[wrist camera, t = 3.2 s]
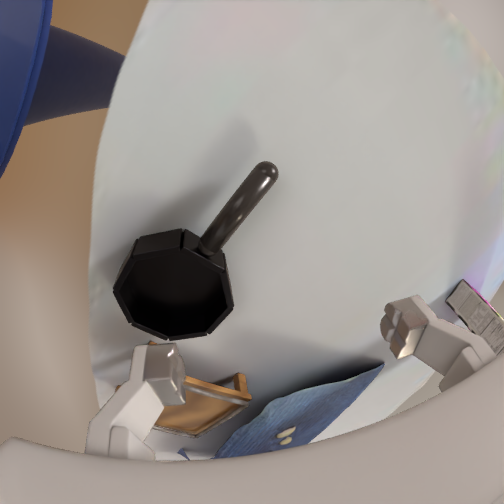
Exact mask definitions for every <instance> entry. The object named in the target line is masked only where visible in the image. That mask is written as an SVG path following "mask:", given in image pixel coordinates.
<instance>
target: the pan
mask: <svg viewBox="0 0 504 504" xmlns="http://www.w3.org/2000/svg"><path fill="white" fill-rule="evenodd" d="M277 178H278V169H277V167H276V166H275V165H274V164H273V163H271V162H268V161H264V162H261V163H259V164H257V165H256V166H255V168H254V169H253V170H252V171H251V173H250V174H249V175H248V176H247V178H246V179H245V180H244V182H243V183H242V184H241V185H240V187H239V188H238V189H237V190H236V192H235V193H234V194H233V196H232V197H231V198H230V199H229V201H228V202H227V203H226V205H225V206H224V207H223V209H222V210H221V211H220V212H219V214H218V215H217V216H216V218H215V219H214V220H213V222H212V223H211V224H210V226H209V227H208V228H207V230H206V231H205V232H204V234H203V235H202V236H201V238H200V237H198V236H197V235H195V234H193V233H192V232H190V231H188V230H186V229H185V230H184V232H183V231H182V229H176V230H171V231H166V232H161V233H156V234H151V235H146V236H141V237H140V238H139V240H138V239H136V241H135V243H134V244H133V246H132V248H131V250H130V252H129V253H128V255H127V257H126V259H125V261H124V263H123V264H122V266H121V268H120V271H119V273H118V276H117V278H116V281H115V284H114V286H113V289H114V290H113V293H114V296H115V298H116V300H117V302H118V304H119V306H120V307H121V309H122V311H123V313H124V315H125V317H126V319H127V321H128V323H132V324H131V325H132V326H134V327H136V328H138V329H140V330H143V331H145V332H147V333H149V334H152V335H154V336H156V337H159V338H161V339H163V340H167V339H169V341H174V340H181V339H188V338H195V337H202V336H207V333H208V334H211V333H212V332H213V331H214V330H215V329H216V328H217V326H218V325H219V324H220V323H221V322H222V321H223V320H224V319H225V318H226V317H227V316H228V315H229V314H230V313H231V312H232V310H233V307H234V302H233V296H232V289H231V284H230V279H229V274H228V269H227V264H226V259H225V254H224V253H222V250H221V248H222V247H223V246H224V245H225V243H226V242H227V241H228V240H229V238H230V237H231V236H232V235H233V233H234V232H235V231H236V230H237V228H238V227H239V226H240V225H241V223H242V222H243V221H244V220H245V218H246V217H247V216H248V215H249V214H250V212H251V211H252V210H253V209H254V207H255V206H256V205H257V204H258V202H259V201H260V200H261V199H262V198H263V196H264V195H265V194H266V193H267V191H268V190H269V189H270V188H271V187H272V185H273V184H274V183H275V182H276V180H277Z"/></svg>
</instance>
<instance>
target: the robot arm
mask: <svg viewBox="0 0 504 504" xmlns="http://www.w3.org/2000/svg"><path fill="white" fill-rule="evenodd" d="M384 311H385V313H386V314H385V316H384V317H383V318H382V320H381V323H380V329H381V333H382V336H383V338H384V339H385V340H386V341H388V342H390V349H391V351H392V352H393V354H394V356H395V357H396V359H400V358H403V357H406V356H408V355H411V354H413V355H414V356H415V357H417V358H418V359H420V360H421V361H423V362H424V363H426V364H427V365H429V366H430V367H432V368H433V369H434V370H436V371H437V372H439V373H440V374H442V375H443V376H444V378H443V379H442V381H441V382H440V384H439V388H440V390H441V392H442V393H440V394H438V395H436V396H434V397H432V398H430V399H428V400H427V401H424V402H422V403H420V404H418V405H416V406H414V407H412V408H410V409H407V410H405V411H403V412H401V413H399V414H396V415H394V416H391V417H389V418H386V419H384V420H381V421H379V422H376V423H374V424H371V425H368V426H365V427H363V428H360V429H357V430H354V431H351V432H348V433H345V434H342V435H338V436H335V437H332V438H328V439H325V440H321V441H317V442H314V443H310V444H306V445H301V446H297V447H292V448H288V449H283V450H278V451H272V452H267V453H261V454H254V455H247V456H240V457H231V458H221V459H208V460H188V461H155V452H154V451H153V450H152V449H150V448H149V447H148V446H147V445H146V444H144V443H143V442H144V440H145V438H146V437H147V435H148V434H149V432H150V430H151V429H152V427H153V425H154V424H155V422H156V421H157V419H158V417H159V416H160V414H161V412H162V411H163V409H164V406H176V405H186V389H185V387H184V385H183V383H184V381H185V380H186V373H185V366H184V362H183V359H182V357H181V356H180V355H178V347H177V345H176V343H167V344H151V345H136V347H135V348H134V352H133V357H132V363H131V369H130V375H129V381H126V382H124V383H123V384H122V386H121V387H120V388H119V389H118V390H117V391H116V392H115V394H114V395H113V396H112V397H111V398H110V399H109V400H108V402H107V403H106V404H105V405H104V406H103V407H102V408H101V410H100V411H99V412H98V413H97V414H96V416H95V417H94V418H93V419H92V420H91V421H90V422H89V427H88V433H87V439H86V447H85V454H83V453H78V452H72V451H67V450H63V449H58V448H54V447H49V446H46V445H42V444H38V443H34V442H31V441H28V440H24V439H22V438H18V437H10V438H8V439H7V440H5V441H4V442H3V443H2V444H1V445H0V504H504V353H503V354H501V355H500V356H499V357H497V356H496V355H495V353H494V352H493V351H492V349H491V348H490V347H489V345H488V344H487V343H486V342H485V340H484V339H483V338H482V337H480V336H478V335H476V334H474V333H472V332H469V331H467V330H465V329H463V328H461V327H459V326H457V325H455V324H452V323H450V322H448V321H446V320H444V319H442V318H441V319H438V317H437V316H436V315H435V314H434V312H433V311H432V310H431V309H430V308H429V306H428V305H427V304H426V303H425V302H424V300H423V299H422V298H421V297H420V296H418V295H415V296H411V297H408V298H404V299H401V300H398V301H394V302H391V303H388V304H387V305H386V306H385V310H384Z"/></svg>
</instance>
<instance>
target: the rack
mask: <svg viewBox="0 0 504 504" xmlns="http://www.w3.org/2000/svg"><path fill="white" fill-rule="evenodd" d="M151 344H157V343H154V342H152V341H150V342H149V343H148V345H151ZM233 381H234V388H235V390H232V389H229V388H225V387H221V386H218V385H215V384H211V383H208V382H205V381H201V380H198V379H195V378H192V377H189V376H186V380H185V381H184V383H183V385H184V387H185V389H186V405H176V406H164V409H163V411H162V412H161V414H160V416H159V417H158V419H157V421H156V422H155V424H154V425H153V427H152V429H156V430H159V431H163V432H167V433H172V434H176V435H181V436H185V437H190V438H198V437H200V436H202V435H204V434H205V433H207V432H209V431H211V430H212V429H214V428H216V427H217V426H219V425H220V424H222V423H224V422H225V421H227V420H229V419H230V418H232V417H233V416H235V415H236V414H238V413H239V412H241V411H243V410H244V409H246V408H247V407H248V406H249V403H248V401H250V400H251V399H252V398H251V394H248V389H247V384H246V378H245V375H243V374H240V373H237V374H236V375H235V376H234V377H233ZM120 387H121V386H117V387H116V389H115V392H116V391H117V390H118V389H119V388H120ZM155 425H157V426H155ZM159 426H161V427H159ZM163 427H165V428H163ZM166 428H169V429H166ZM171 429H173V430H171ZM175 430H177V431H175ZM179 431H182V432H179ZM184 432H186V433H184ZM188 433H191V434H188ZM193 434H196V435H193Z"/></svg>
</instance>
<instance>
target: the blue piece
mask: <svg viewBox="0 0 504 504" xmlns="http://www.w3.org/2000/svg"><path fill="white" fill-rule="evenodd" d="M384 365H385V364H384V363H383V365H381V366H379V367H378V368H376V369H373V370H370V371H368V372H365V373H362V374H360V375H358V376H355V377H353V378H350V379H348V380H344V381H340V382H336V383H329V384H324V385H320V386H316V387H312V388H307V389H303V390H300V391H297V392H294V393H292V394H290V395H288V396H285V397H282V398H276V399H275V400H273V401H271V402H270V403H269V404H268V405H267V406H266V407H265V408H264V409H263V411H262V412H261V414H260V415H259V416H257V417H256V418H254V419H253V420H252V421H251V422H250V423H249V424H247V425H243V426H242V427H241V428H239V429H238V430H236V431H235V432H234V433H233V435H232V436H231V437H230V438H229V439H228V440H227V442H226V443H225V444H223V446H222V447H221V448H220V450H218V453H217V454H216V455H215V457H214V458H211V459H221V458H231V457H240V456H247V455H254V454H261V453H267V452H272V451H278V450H283V449H288V448H292V447H297V446H301V445H306V444H308V443H309V442H310V441H311V440H313V439H314V438H315V437H316V436H317V435H319V434H320V433H321V432H322V431H323V430H325V429H326V428H327V426H329V425H330V424H331V423H332V422H333V421H334V420H335V419H336V418H337V417H338V416H339V415H340V414H341V413H342V412H343V411H344V410H345V409H346V408H347V407H349V406H350V405H351V404H352V403H353V402H354V401H355V400H356V399H357V397H358V396H359V395H360V394H361V393H362V392H363V391H364V390H365V389H366V387H367V386H368V385H369V384H370V383H371V382H372V381H373V380H374V378H375V377H376V376H377V375H378V373H379V372H380V371H381V369H382V368H383V367H384ZM177 453H178V454H181V455H182V456H183V457H185V458H186V459H188V460H190V459H189V458H188V457H187V456H186V454H185V452H184V450H183V449H182V448H181V449H180V450H179V451H178V452H177Z"/></svg>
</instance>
